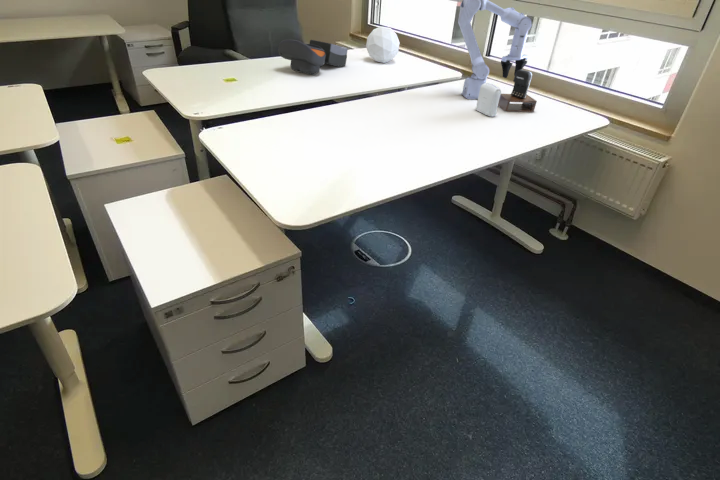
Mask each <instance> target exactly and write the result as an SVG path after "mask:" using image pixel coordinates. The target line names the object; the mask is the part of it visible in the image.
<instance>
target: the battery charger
mask: <svg viewBox="0 0 720 480" xmlns="http://www.w3.org/2000/svg"><path fill="white" fill-rule="evenodd" d="M532 79H533V73H532V72H531V71H529V70H527V69H522V70H518V71H517V72H516V74H515V76H514V77H513V82H514V84H513V87H512V91H511V93H510V94H511V95H512V96H514V97H517V98H526V95H528V91H529V89H530V85H531V82H532Z"/></svg>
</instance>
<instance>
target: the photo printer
mask: <svg viewBox="0 0 720 480" xmlns="http://www.w3.org/2000/svg"><path fill="white" fill-rule="evenodd" d="M501 94H502V90H501V88H500V87H499V86H497V85H496V84H494V83H490V82H486V83H484V84H482V85H481V87H480V91H479V96H478V99H477V101H476V106H475V111H477V112H479V113H481V114H483V115H486V116H487V117H491V118H492V117H493V118H494V117H496V115H497V111H498V107H499V106H498V103H499V99H500V95H501Z"/></svg>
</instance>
